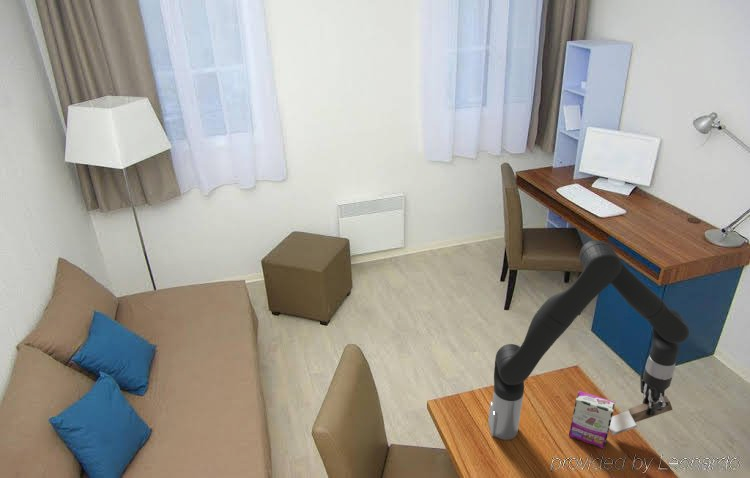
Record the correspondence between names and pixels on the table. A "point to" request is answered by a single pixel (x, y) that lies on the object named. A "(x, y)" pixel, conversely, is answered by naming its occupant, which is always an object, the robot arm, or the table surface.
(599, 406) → the candy bar box
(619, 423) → the turner
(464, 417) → the table surface
